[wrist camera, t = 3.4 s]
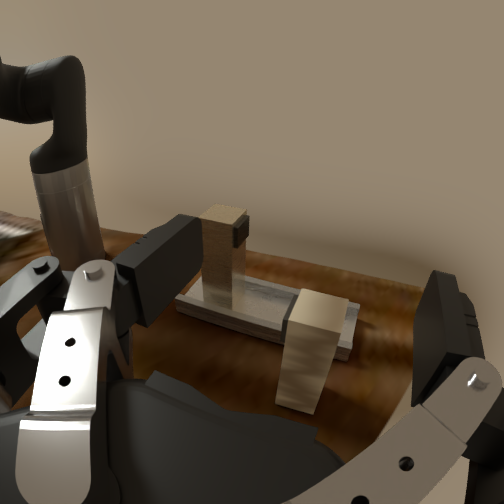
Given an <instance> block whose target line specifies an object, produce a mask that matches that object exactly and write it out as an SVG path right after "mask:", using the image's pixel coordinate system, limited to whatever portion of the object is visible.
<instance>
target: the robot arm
mask: <svg viewBox="0 0 504 504" xmlns="http://www.w3.org/2000/svg"><path fill="white" fill-rule="evenodd" d="M0 118H1V119H5V120H10V121H14V122H18V123H23V124H37V123H42V122H47V121H51V120H53V134H52V136H51V138H50V139H49V140H48V141H47V142H45V143H44V144H42V145H41V146H39V147H38V148H36V149H35V150H34V151H32V153H31V154H30V166H31V171H32V176H33V181H34V186H35V190H36V194H37V199H38V203H39V207H40V211H41V214H40V217H41V221H42V225H43V228H44V232H45V236H46V239H47V242H48V246H49V249H50V252H51V255H52V256H44V257H40V258H38V259H35V260H34V261H32V262H31V263H29V264H28V265H27V266H25V267H24V268H23V269H22V270H20V271H19V272H18V273H17V274H15V275H14V276H13V277H12V278H10V279H9V280H8V281H7V282H5V283H4V284H3V285H2V286H1V287H0V504H418V503H419V502H420V501H421V500H422V499H423V498H424V497H425V496H426V495H427V494H428V493H429V492H430V491H431V490H432V489H433V488H434V486H436V484H437V483H438V482H439V481H440V480H441V479H442V478H443V477H444V475H445V474H446V473H447V472H448V471H449V470H450V468H451V467H452V466H453V465H454V464H455V462H456V461H457V460H458V459H459V457H460V456H463V457H465V458H467V459H470V462H469V472H468V481H467V489H466V496H465V503H464V504H504V388H503V387H502V380H501V376H500V374H499V372H498V371H497V369H496V368H495V367H494V366H493V365H492V364H491V363H489V362H488V361H486V360H485V356H484V351H483V345H482V340H481V336H480V331H479V328H478V322H477V319H476V314H475V310H474V306H473V304H472V302H471V301H470V300H469V298H468V297H467V295H466V294H465V293H461V292H459V289H458V285H457V281H456V277H455V275H452V274H448V273H444V272H440V271H436V270H433V272H432V273H431V275H430V277H429V280H428V283H427V285H426V288H425V290H424V293H423V295H422V298H421V300H420V303H419V305H418V308H417V310H416V314H415V318H414V325H413V381H412V400H411V407H414V408H413V409H412V410H411V411H410V412H409V413H408V414H407V415H405V416H404V417H403V418H402V419H401V420H400V421H399V422H398V423H397V424H396V425H394V426H393V427H392V428H391V429H390V430H388V431H387V432H386V433H385V434H384V435H383V436H381V437H380V438H379V439H378V440H377V441H375V442H374V443H373V444H372V445H370V446H369V447H368V448H367V449H365V450H364V451H363V452H361V453H360V454H359V455H357V456H356V457H355V458H353V459H352V460H351V461H349V462H348V463H347V464H345V463H344V461H343V460H342V459H341V458H340V457H339V456H338V455H337V454H336V453H335V452H333V451H332V450H331V449H330V448H328V447H327V446H325V445H324V444H322V443H321V442H319V441H317V440H315V437H316V434H317V431H318V428H317V427H313V426H310V425H306V424H302V423H299V422H295V421H292V420H288V419H285V418H281V417H278V416H275V415H263V414H253V413H244V412H236V411H229V410H226V409H224V408H222V407H220V406H219V405H217V404H216V403H214V402H213V401H212V400H210V399H209V398H207V397H206V396H204V395H203V394H202V393H200V392H199V391H197V390H196V389H195V388H193V387H192V386H190V385H188V384H186V383H183V382H181V381H179V380H176V379H174V378H172V377H169V376H167V375H165V374H162V373H160V372H158V371H156V370H155V371H154V372H153V374H152V375H151V376H150V377H149V379H148V380H145V379H134V375H133V340H132V330H131V326H132V325H133V324H134V323H137V324H139V325H142V326H144V327H146V328H148V327H149V326H150V325H151V324H152V323H153V321H154V320H155V319H156V318H157V317H158V316H159V315H160V314H161V313H162V311H163V310H164V309H165V308H166V307H167V306H168V305H169V304H170V303H171V301H172V300H173V299H174V298H175V297H176V296H177V295H178V294H179V293H180V292H181V290H182V289H183V288H184V287H185V286H186V285H187V284H188V283H189V282H190V281H191V280H192V278H193V277H194V276H195V275H196V274H197V273H198V272H199V270H200V269H201V266H202V263H203V257H204V254H203V236H202V222H201V220H200V218H198V217H193V216H187V215H183V214H178V215H177V216H176V217H174V218H173V219H171V220H170V221H169V222H167V223H166V224H164V225H162V226H159V227H157V228H154V229H152V230H151V231H149V232H148V233H147V234H145V235H144V236H143V238H140V239H139V240H137V241H136V242H135V244H134V243H133V244H132V245H131V246H129V247H128V248H127V249H126V250H124V251H123V252H122V253H120V254H119V255H118V256H117V257H115V258H114V259H113V260H111V261H107V260H104V259H105V250H104V245H103V241H102V236H101V231H100V226H99V222H98V217H97V212H96V206H95V201H94V195H93V189H92V183H91V177H90V170H89V163H88V157H87V147H86V146H87V125H86V88H85V75H84V70H83V66H82V64H81V62H80V60H79V59H78V58H76V57H75V56H63V57H59V58H55V59H51V60H48V61H44V62H41V63H37V64H34V65H30V66H26V67H17V66H11V65H6V64H3V63H2V62H1V57H0ZM35 305H37V307H38V309H39V312H40V314H41V316H42V318H43V319H42V320H41V321H40V322H39V323H38V324H37V325H36V326H35V327H34V328H33V329H32V330H31V331H30V332H29V333H28V334H27V335H26V336H25V337H24V338H23V339H22V340H20V338H19V336H18V334H17V331H16V327H17V323H18V321H19V320H20V319H21V318H22V317H23V316H24V315H25V314H26V313H27V312H28V311H29V310H30V309H31V308H32V307H33V306H35ZM34 381H35V386H34V391H33V397H32V404H31V406H28V407H24V408H20V409H17V410H13V411H11V408H12V407H13V406H14V405H15V404H16V402H17V401H18V400H19V399H20V398H21V396H22V395H23V394H24V393H25V392H26V390H27V389H28V388H29V387H30V386H31V385H32V383H33V382H34Z"/></svg>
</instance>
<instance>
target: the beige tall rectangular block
mask: <svg viewBox="0 0 504 504" xmlns="http://www.w3.org/2000/svg"><path fill="white" fill-rule="evenodd" d="M348 301H349V300H348V299H344V298H340V297H335V296H331V295H327V294H323V293H319V292H315V291H311V290H307V289H303V288H302V289H301V292H300V294H299V295H295V294H294V296H293V298H292V300H291V302H290V305H289V307H288V309H287V311H286V313H285V316H284V318H283V321H282V329H281V336H280V342H284V343H285V345H284V351H283V358H282V364H281V370H280V376H279V382H278V388H277V394H276V400H275V404H278V405H281V406H285V407H288V408H291V409H295V410H298V411H302V412H306V413H309V414H314V411H315V408H316V406H317V403H318V400H319V397H320V395H321V392H322V389H323V386H324V384H325V381H326V378H327V375H328V372H329V369H330V366H331V363H332V360H333V357H334V354H335V351H336V348H337V345H338V342H339V338H340V335H341V332H342V327H343V323H344V319H345V315H346V310H347V306H348Z"/></svg>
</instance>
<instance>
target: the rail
mask: <svg viewBox="0 0 504 504" xmlns="http://www.w3.org/2000/svg"><path fill="white" fill-rule="evenodd" d="M246 214H247V210H246V209H241V208H235V207H230V206H225V205H219V204H214V205H213V206H212V207H210V208H209V209H208V210H207V211H205V212H204V213H203V214H202V215H201V216H199V217H198V218H200V220H201V222H202V236H203V254H204V257H203V263H202V266H201V273H202V276H201V277H200V278H199V279H198V280H197V282H196V283H195V284H194V285H193V286H192V287H191V288H190V290H189V291H188V292H187V293H186V294H185V295H182V294H178V295H177V296H176V297H175V303H176V310H177V311H178V312H181V313H184V314H187V315H190V316H192V317H195V318H198V319H201V320H204V321H207V322H210V323H213V324H216V325H219V326H223V327H226V328H229V329H232V330H235V331H238V332H242V333H245V334H248V335H251V336H255V337H258V338H261V339H265V340H268V341H271V342H275V343H278V344H282V345H285V343H284V342H280V336H281V329H282V321H283V318H284V316H285V313H286V311H287V309H288V307H289V305H290V302H291V300H292V298H293V296H294V294H295V295H299V294H300V292H301V290H299V289H295V288H291V287H287V286H283V285H279V284H275V283H272V282H268V281H264V280H260V279H256V278H252V277H248V276H245V258H246V238H247V237H248V236H249V216H247V215H246ZM359 308H360V304H356V303H352V302H348V306H347V310H346V315H345V319H344V323H343V327H342V332H341V335H340V338H339V342H338V345H337V348H336V351H335V354H334V357H333V358H334V359H338V360H342V361H346V362H347V360H348V357H349V355H350V352H351V349H352V345H353V343H352V340H353V335H354V330H355V325H356V319H357V315H358V312H359Z"/></svg>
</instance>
